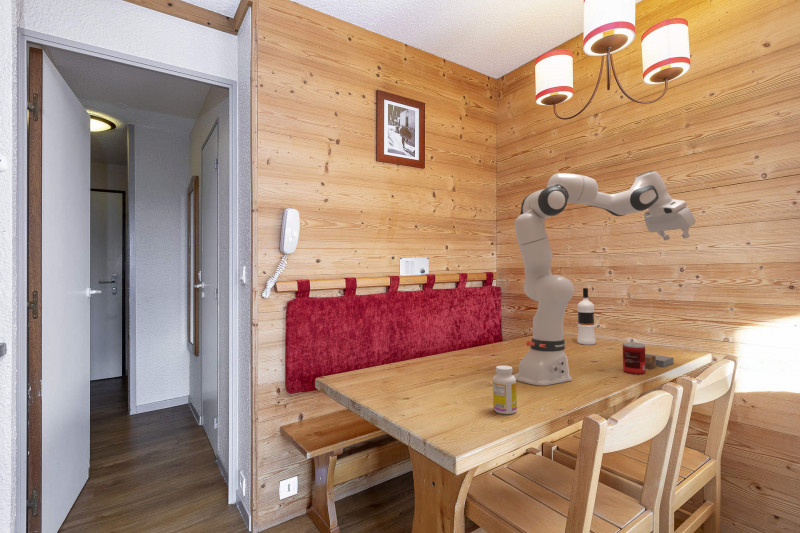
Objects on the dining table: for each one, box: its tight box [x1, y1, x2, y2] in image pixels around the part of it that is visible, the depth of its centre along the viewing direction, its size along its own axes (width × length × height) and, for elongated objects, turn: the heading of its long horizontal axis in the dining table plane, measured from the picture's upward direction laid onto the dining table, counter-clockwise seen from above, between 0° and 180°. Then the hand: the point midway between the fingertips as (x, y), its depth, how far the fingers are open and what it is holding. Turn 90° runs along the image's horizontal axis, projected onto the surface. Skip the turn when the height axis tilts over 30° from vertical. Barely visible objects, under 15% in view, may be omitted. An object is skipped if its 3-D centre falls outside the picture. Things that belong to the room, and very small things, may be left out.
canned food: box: [622, 341, 647, 376], centre depth 156 cm, size 8×8×11 cm
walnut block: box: [645, 353, 657, 371], centre depth 163 cm, size 5×5×5 cm
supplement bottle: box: [492, 365, 518, 415], centre depth 117 cm, size 7×7×13 cm
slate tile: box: [646, 353, 674, 368], centre depth 170 cm, size 10×10×2 cm
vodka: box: [576, 287, 597, 346], centre depth 214 cm, size 9×9×30 cm
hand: (676, 238), depth 161 cm, fingers open, 8 cm apart
